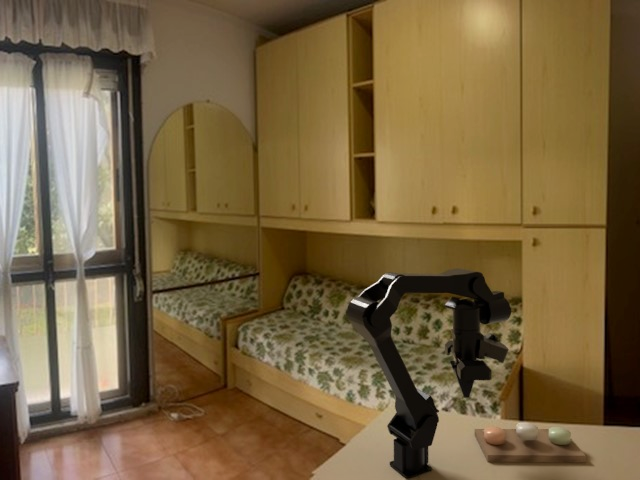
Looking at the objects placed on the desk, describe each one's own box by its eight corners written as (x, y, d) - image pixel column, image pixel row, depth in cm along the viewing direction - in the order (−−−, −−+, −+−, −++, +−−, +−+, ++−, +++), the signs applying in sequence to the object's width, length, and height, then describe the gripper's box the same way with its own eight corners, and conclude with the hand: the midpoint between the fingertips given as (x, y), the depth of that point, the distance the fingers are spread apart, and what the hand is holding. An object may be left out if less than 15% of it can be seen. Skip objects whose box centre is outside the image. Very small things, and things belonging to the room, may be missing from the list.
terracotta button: (486, 444, 115) (487, 435, 115) (482, 435, 120) (482, 426, 120) (507, 444, 115) (507, 435, 115) (501, 435, 120) (502, 426, 119)
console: (487, 461, 112) (487, 454, 112) (474, 435, 124) (474, 428, 124) (585, 462, 111) (585, 454, 111) (562, 435, 123) (562, 428, 122)
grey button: (519, 440, 115) (520, 431, 115) (513, 430, 119) (513, 422, 119) (540, 440, 115) (540, 431, 114) (533, 430, 119) (533, 422, 119)
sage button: (552, 444, 115) (553, 436, 114) (545, 435, 119) (545, 426, 119) (573, 444, 114) (574, 436, 114) (565, 435, 119) (565, 426, 118)
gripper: (518, 339, 105) (517, 415, 106) (493, 316, 123) (492, 381, 125) (460, 340, 105) (460, 415, 107) (444, 316, 124) (444, 381, 125)
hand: (466, 397), depth 116 cm, fingers closed
